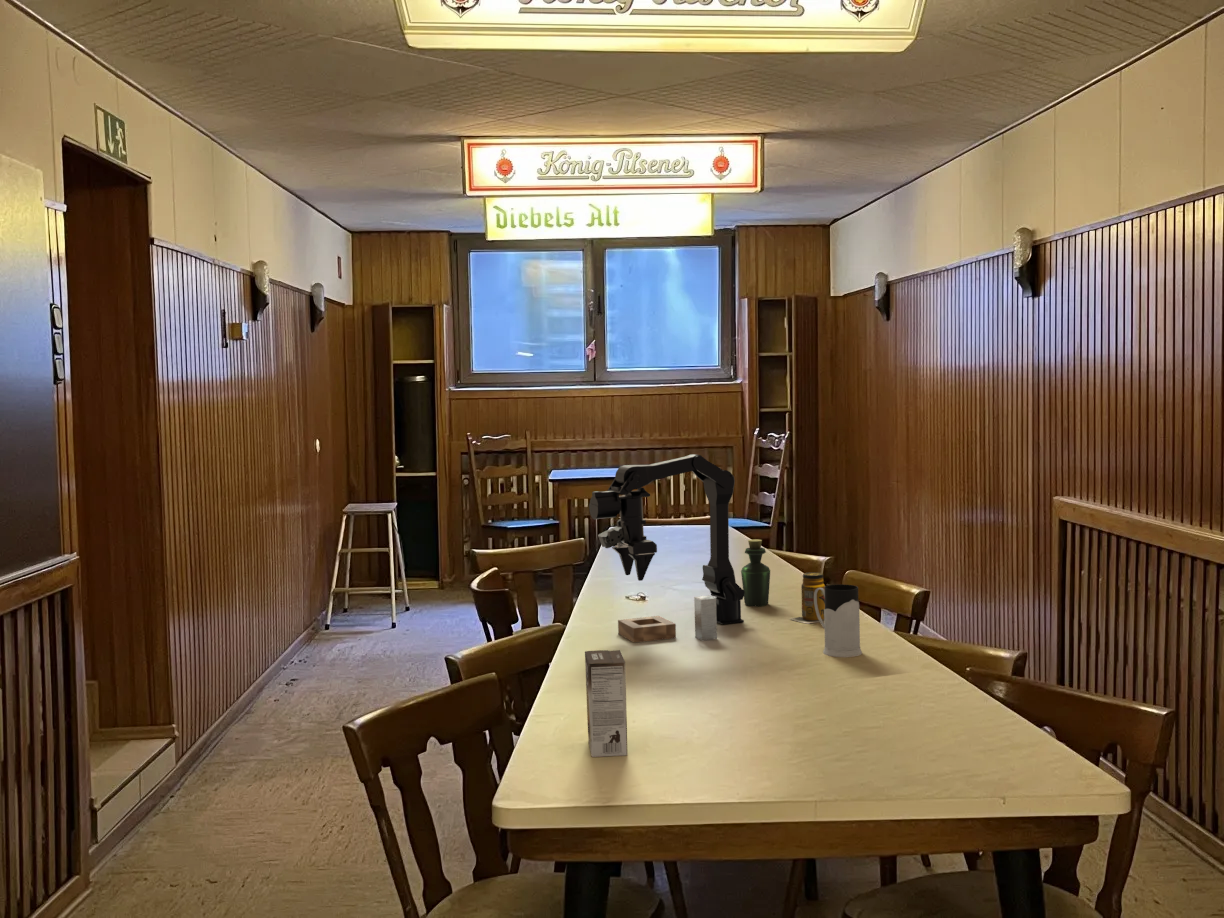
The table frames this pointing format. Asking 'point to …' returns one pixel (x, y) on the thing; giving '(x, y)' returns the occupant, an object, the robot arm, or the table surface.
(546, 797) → the table surface
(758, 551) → the potion bottle
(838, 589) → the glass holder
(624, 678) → the coffee box
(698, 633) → the grey long rectangular block
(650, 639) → the block
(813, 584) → the condiment
